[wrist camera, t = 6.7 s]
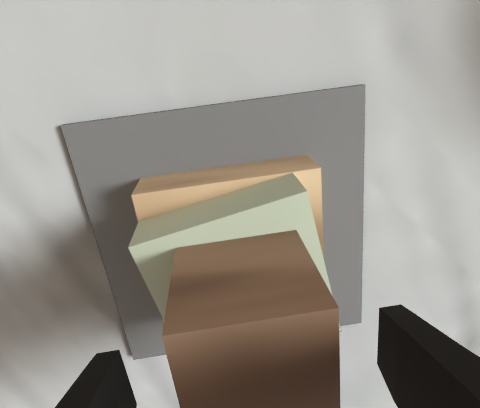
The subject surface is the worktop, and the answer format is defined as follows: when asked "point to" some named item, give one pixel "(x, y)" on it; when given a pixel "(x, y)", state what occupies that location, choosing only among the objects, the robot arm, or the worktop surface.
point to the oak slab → (225, 186)
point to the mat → (218, 155)
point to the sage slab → (224, 228)
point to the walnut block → (251, 326)
